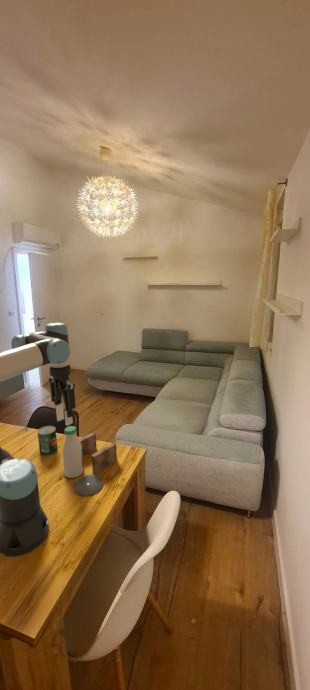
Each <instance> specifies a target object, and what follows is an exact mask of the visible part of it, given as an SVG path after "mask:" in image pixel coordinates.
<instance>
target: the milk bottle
mask: <svg viewBox="0 0 310 690" xmlns="http://www.w3.org/2000/svg"><path fill="white" fill-rule="evenodd" d="M77 432H78V431H77V427H76V426H75V425H74V426H73V425H68V426H66V427H65V428H64V435H65V438H64V441H63V444H62V450H61V451H62V462H63V472H64V476H65V477H67V478H69V479H74V478H78V477H80V476H81V475H83V474H84V473H83V472H84V469H85V468H84V459H83V455H82V446H81V442H80V441H79V439H80V438H79V437H78V436H77V434H78V433H77Z"/></svg>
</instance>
